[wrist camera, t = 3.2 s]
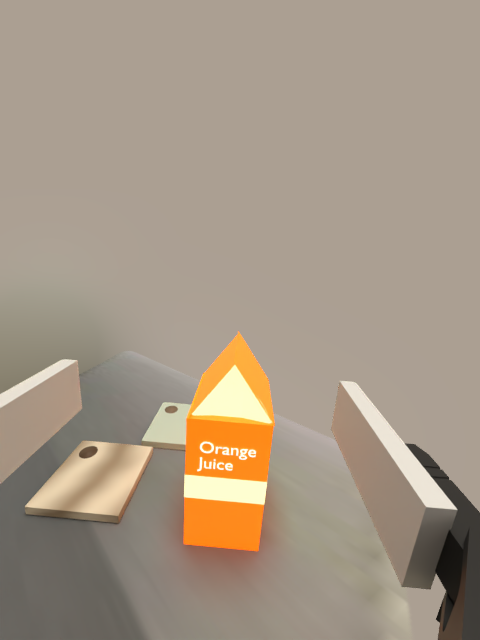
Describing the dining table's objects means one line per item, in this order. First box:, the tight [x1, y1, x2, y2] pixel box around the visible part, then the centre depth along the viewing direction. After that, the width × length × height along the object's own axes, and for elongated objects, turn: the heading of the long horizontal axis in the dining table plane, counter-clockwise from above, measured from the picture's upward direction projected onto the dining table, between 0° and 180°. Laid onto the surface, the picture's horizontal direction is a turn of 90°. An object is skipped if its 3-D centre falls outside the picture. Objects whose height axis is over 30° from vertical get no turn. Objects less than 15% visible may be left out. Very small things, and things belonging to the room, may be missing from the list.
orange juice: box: [184, 332, 275, 551], centre depth 28 cm, size 8×9×20 cm
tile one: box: [25, 441, 153, 523], centre depth 33 cm, size 10×10×1 cm
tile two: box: [142, 402, 191, 450], centre depth 43 cm, size 10×10×1 cm
